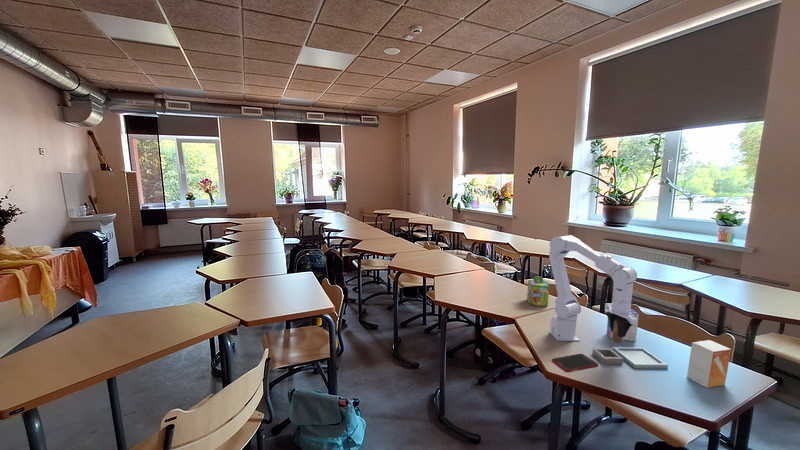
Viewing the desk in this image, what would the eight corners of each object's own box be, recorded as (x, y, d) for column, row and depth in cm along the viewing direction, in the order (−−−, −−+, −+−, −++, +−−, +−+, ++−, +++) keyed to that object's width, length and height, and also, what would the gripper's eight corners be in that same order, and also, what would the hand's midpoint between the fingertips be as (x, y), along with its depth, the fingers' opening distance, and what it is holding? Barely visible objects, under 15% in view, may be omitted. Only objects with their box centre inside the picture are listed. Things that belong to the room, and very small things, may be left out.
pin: (615, 343, 116) (618, 323, 115) (610, 339, 120) (612, 319, 119) (624, 343, 116) (626, 323, 115) (618, 339, 120) (620, 319, 119)
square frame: (603, 363, 116) (604, 358, 115) (592, 353, 123) (592, 348, 122) (622, 364, 116) (623, 358, 115) (610, 353, 123) (610, 348, 122)
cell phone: (599, 366, 115) (599, 364, 114) (566, 373, 111) (566, 370, 110) (581, 355, 122) (581, 353, 122) (550, 361, 118) (550, 358, 118)
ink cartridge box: (630, 335, 138) (633, 304, 136) (636, 341, 132) (640, 309, 130) (605, 333, 140) (608, 302, 138) (610, 339, 134) (614, 307, 132)
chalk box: (530, 305, 170) (532, 279, 168) (526, 299, 179) (528, 274, 177) (548, 306, 168) (550, 280, 166) (543, 300, 177) (545, 275, 175)
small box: (707, 388, 102) (713, 351, 100) (686, 377, 108) (691, 341, 107) (725, 385, 104) (732, 348, 102) (703, 374, 110) (709, 339, 108)
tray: (634, 368, 113) (634, 364, 113) (612, 350, 125) (612, 346, 125) (667, 368, 113) (668, 364, 113) (642, 350, 125) (642, 347, 125)
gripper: (598, 292, 123) (595, 325, 125) (625, 307, 109) (621, 343, 110) (616, 292, 123) (613, 325, 125) (645, 307, 109) (640, 344, 110)
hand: (618, 334), depth 118 cm, fingers closed on pin, 3 cm apart
